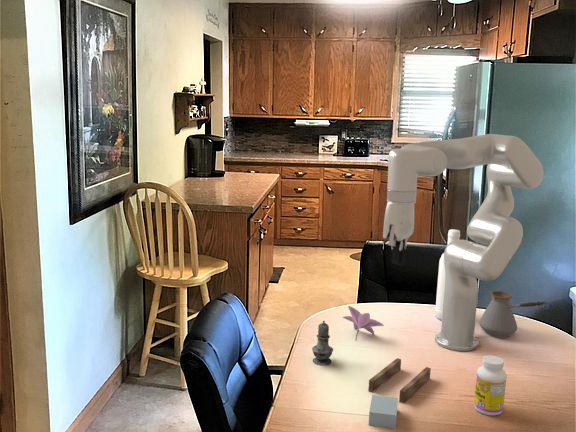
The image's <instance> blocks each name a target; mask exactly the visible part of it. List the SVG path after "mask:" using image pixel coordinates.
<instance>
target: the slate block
mask: <svg viewBox="0 0 576 432" xmlns="http://www.w3.org/2000/svg"><path fill="white" fill-rule="evenodd" d="M398 403H399V398H398V397H393V396H387V395H386V396H385V395H377V394H372V395H371V400H370V405H369V414H368V426H373V427H374V426H376V427H381V428H382V427H383V428H390V429H394V430H395V429H396V426H397V417H398V415H397V414H398Z"/></svg>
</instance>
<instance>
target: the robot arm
mask: <svg viewBox="0 0 576 432" xmlns="http://www.w3.org/2000/svg"><path fill="white" fill-rule="evenodd" d="M486 165H487V166H486ZM480 166H486V180H487V194H486V197H485V198H484V200H483V202H482V204H481V205H480V207H479V208H478V210H477V211H476V213H475V214H474V215H473V217H472V218H471V220H470V221H469V222H468V225H467V229H466V233H467V236H468V238H469V239H470V240H472V241H470V240H466V239H459V240H454V241H452V242H450V243H449V244H448V243H447V244H448V245H446V246H445V248H444V252H443V253H444V265H445V292H444V303H443V315H442V321H441V329H440V332H438V333H436V334H435V338H434V339H435V341H434V342H436V344H438V345H439V346H441V347H443V348H445V349H448V350H452V351H456V352H457V351H458V352H469V351H473V350H475V349H477V348H478V347H479V344H480V342H479V340H478V339H477V338H476V337H475V327H476V315H477V306H478V296H479V284H478V280H482V281H485V282H493V281H495V280H496V279H498V278H499V277H500V276H501V274H502V273H503V271H504V270H505V269H506V267H507V266H508V264H509V263H510V261H511V260H512V258H513V257H514V255H515V253H516V252H517V251H518V249H519V247H520V245H521V243H522V240H523V237H524V230H523V229H524V228H523V225H522V223H521V222H520V221H519V220H518V219H516V218H514V217H512V216H510V215H511V214H512V213H513V210H514V207H515V199H514V195H513V192H512V188H511V187H514V188H519V189H525V190H533V189H535V188H537V187H538V186H540V185H541V183H542V182H543V179H544V168H543V165H542V163H541V161H540V160H539V159H538V157H537V156H536V155H535V154H534V152H533V151H532V149H531V148H530V147H529V146H528V145H527V144H526V143H525V142H524V141H523V140H522V138H519V137H518V136H515V135H506V134H496V133H487V134H480V135H474V136H469V137H462V138H451V139H441V140H427V141H420V142H414V143H413V142H412V143H409V144H405V145H403V146H402V147H401V148H393V149H392V150H390V151H389V154H388V168H387V189H386V190H387V191H386V193H387V194H386V202H387V203H386V207H385V211H384V219H383V230H382V231H383V232H382V237H383V239H384V240H388V246H390V247H391V263H392V264H393V265H398V266H403V265H405V262H406V249H407V243H408V240H409V239H410V236H412V235H413V234H414V230H415V204H416V203H417V187H418V177H420V176H421V177H436V176H439V175H442V174H443V172H444V171H445V170H446V169H450V170H465V169H466V170H467V169H469V168H476V167H480ZM477 279H478V280H477Z"/></svg>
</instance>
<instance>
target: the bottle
mask: <svg viewBox="0 0 576 432" xmlns="http://www.w3.org/2000/svg"><path fill="white" fill-rule="evenodd" d="M460 237H461V231H460V230H459V229H451V228H450V229H449V230H448V233H447V245H448V244H449V243H450V242H452V241H454V240H460V239H461V238H460ZM447 245H446V246H447ZM437 274H438V275H437V287H436V297H435V298H436V299H435V300H436V301H435V309H434V318H436V319H437V320H439V321H441V322H442V315H443V303H444V292H445V265H444V252H442V254H441V257H440V258H439V263H438V273H437Z"/></svg>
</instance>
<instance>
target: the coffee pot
mask: <svg viewBox="0 0 576 432" xmlns="http://www.w3.org/2000/svg"><path fill="white" fill-rule="evenodd" d="M490 296H491V301H490V302H489V303H488V305H487V307H486V308H485V310H484V312H483V313H482V315H481V317H480V318H479V321H478V324H479V327H480V328H481V330H482V331H483V333H485V334H486V335H487V336H491V337H494V338H498V339H500V338H501V339H504V338H509V337H510V336H511V335H513V334H514V333H516V331H517V330H518V323H517V321H516V318H515V316H514V311H513V309H514V308H523V307H524V308H525V307H527V308H529V307H535V306H538V307H539V306H542V307H543V309H544V310H547V309H549V304H548V303H547V302H546V301H537V302H532V301H531V302H524V303H518V304H510V300H511V299H512V297H513V295H512V294H511V293H510V292H508V291H507V292H506V291H503V290H493V291H491V292H490ZM545 305H546V306H547V307H544V306H545Z"/></svg>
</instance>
